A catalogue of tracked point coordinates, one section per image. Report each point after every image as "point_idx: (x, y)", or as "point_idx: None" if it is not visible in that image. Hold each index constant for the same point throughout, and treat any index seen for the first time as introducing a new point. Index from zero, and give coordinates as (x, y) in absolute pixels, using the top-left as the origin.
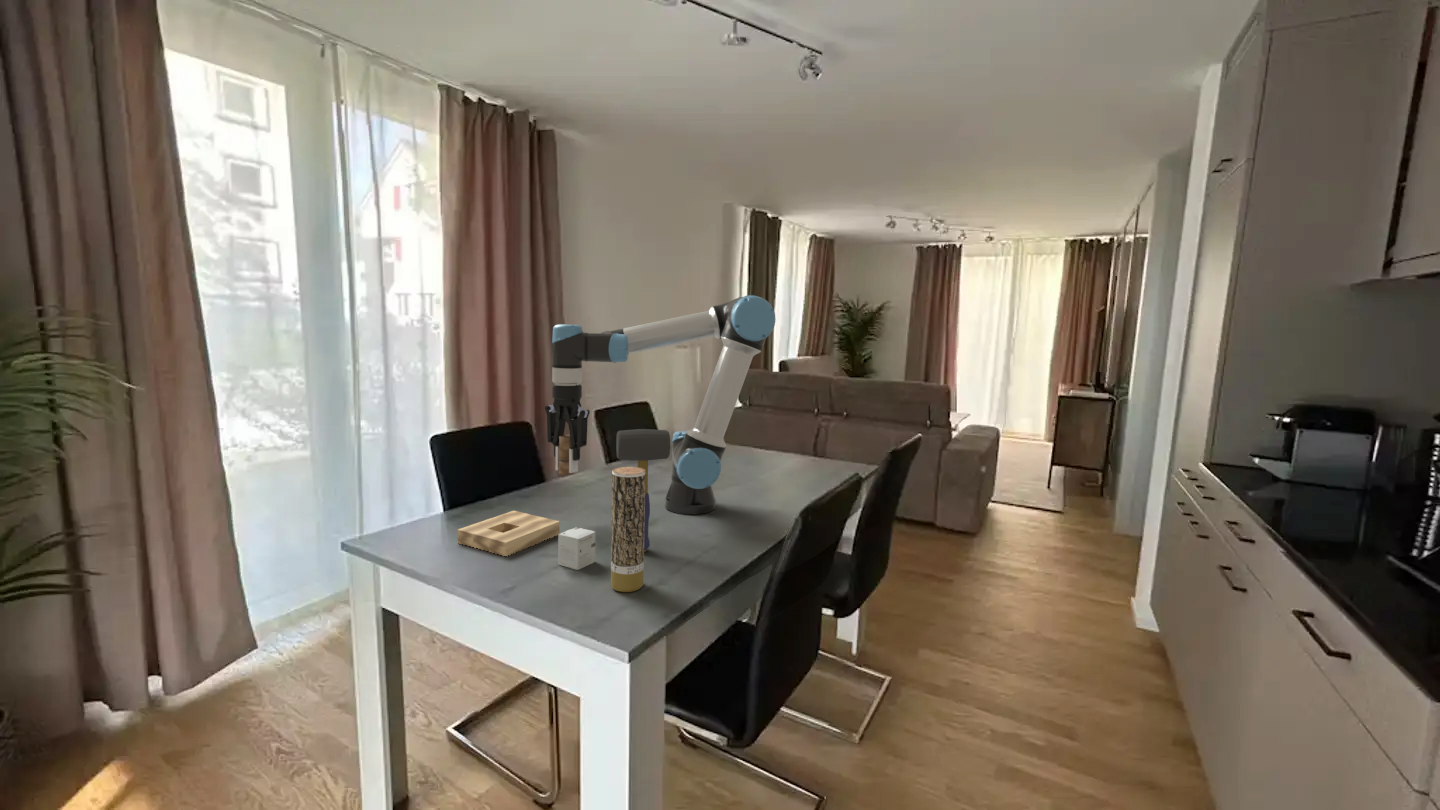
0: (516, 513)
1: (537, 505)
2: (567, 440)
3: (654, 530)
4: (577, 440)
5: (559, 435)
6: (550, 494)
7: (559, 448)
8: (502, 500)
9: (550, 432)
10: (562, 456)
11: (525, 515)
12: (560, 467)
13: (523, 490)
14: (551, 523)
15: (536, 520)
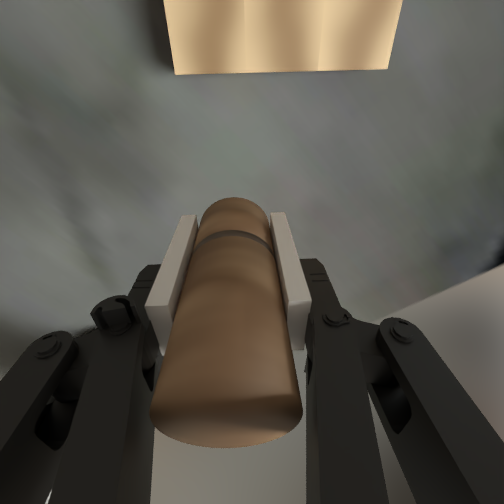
0: (359, 45)
1: (388, 220)
2: (168, 364)
3: (51, 240)
4: (39, 389)
5: (311, 407)
6: (401, 284)
7: (257, 286)
8: (495, 200)
9: (432, 415)
10: (222, 248)
11: (316, 49)
12: (241, 213)
13: (474, 274)
14: (176, 33)
15: (244, 25)
